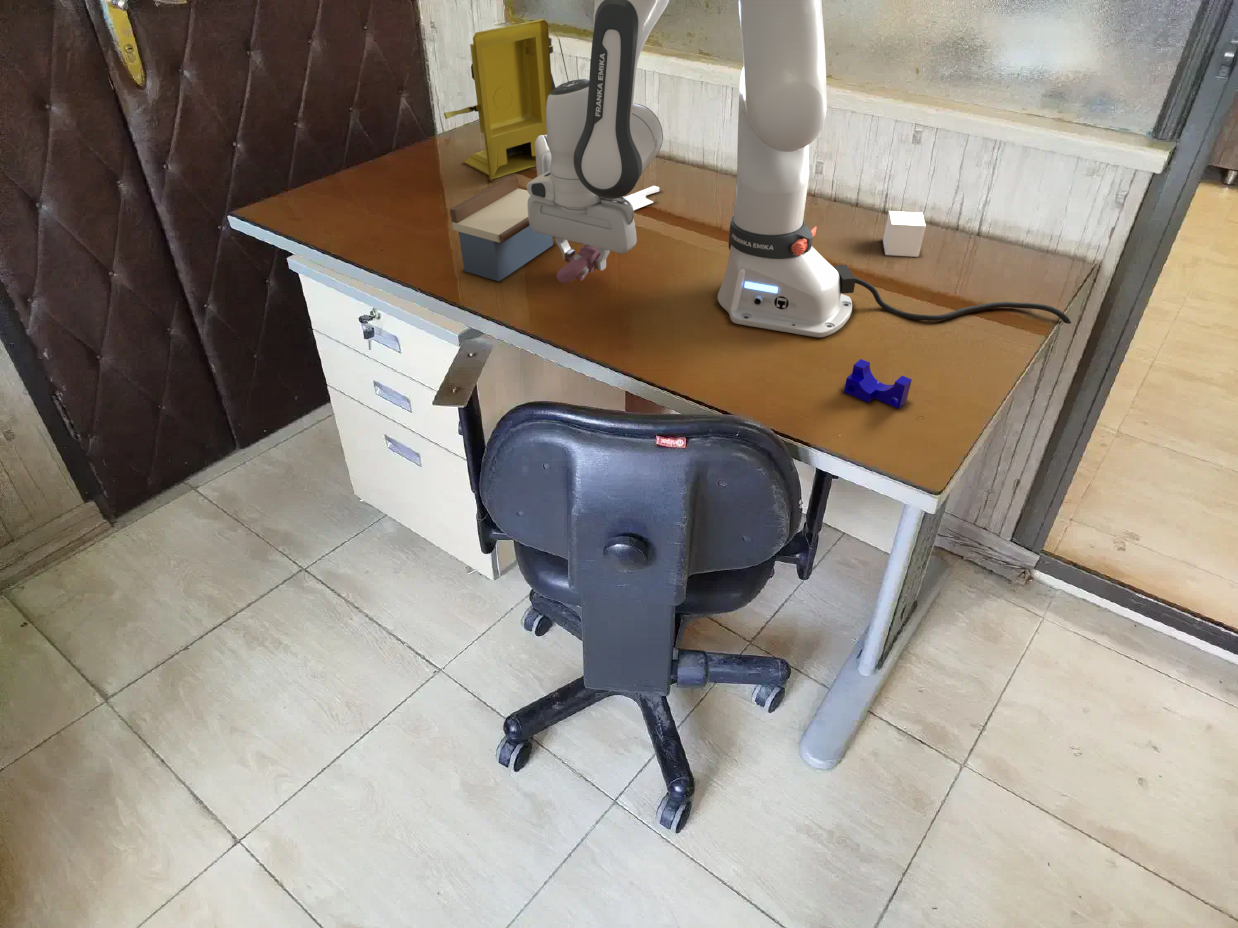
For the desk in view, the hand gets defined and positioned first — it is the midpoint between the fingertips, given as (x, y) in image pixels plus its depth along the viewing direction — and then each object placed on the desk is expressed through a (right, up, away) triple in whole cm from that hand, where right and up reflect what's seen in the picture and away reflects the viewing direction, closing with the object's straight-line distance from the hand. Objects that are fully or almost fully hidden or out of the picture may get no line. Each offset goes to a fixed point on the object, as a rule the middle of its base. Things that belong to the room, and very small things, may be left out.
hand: (584, 264), depth 144 cm
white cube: (+59, +6, +11) cm, 60 cm away
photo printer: (-9, +22, +33) cm, 41 cm away
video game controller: (0, -2, +2) cm, 2 cm away
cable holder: (+43, -25, -25) cm, 56 cm away
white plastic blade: (+10, +20, +29) cm, 37 cm away
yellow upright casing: (-19, +35, +48) cm, 63 cm away
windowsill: (-14, +4, +11) cm, 18 cm away
